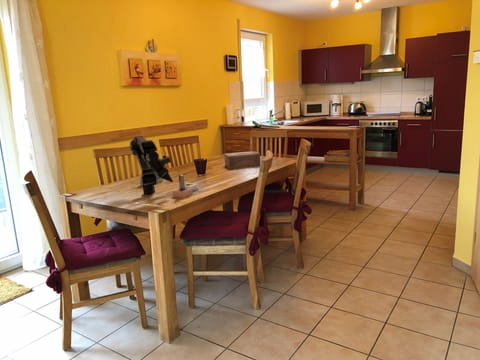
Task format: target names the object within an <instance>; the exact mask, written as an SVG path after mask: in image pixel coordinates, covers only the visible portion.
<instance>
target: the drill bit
mask: <svg viewBox="0 0 480 360" xmlns="http://www.w3.org/2000/svg"><path fill="white" fill-rule="evenodd" d="M178 183H179V185H178V187H179V186H180V191H184V190H185V184H186V183H185V175H184V174H179V175H178Z"/></svg>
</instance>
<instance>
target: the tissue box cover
mask: <svg viewBox="0 0 480 360" xmlns="http://www.w3.org/2000/svg"><path fill="white" fill-rule="evenodd" d="M224 166H225V167H226V166H227V167H226V168H228V169H229V168H230V169H236V168H237V169H239V167H240V168H248V167H250V168H251V167H258V166H261V153H260V152H257V151H253V150H252V151H242V152H231V153H224Z"/></svg>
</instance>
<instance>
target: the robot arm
mask: <svg viewBox="0 0 480 360" xmlns="http://www.w3.org/2000/svg"><path fill="white" fill-rule="evenodd" d="M129 151H130V152H131V153H132V155H134V156H135V157H136V159H137V161H138V165H139V168H140V170H141V176H140V179H139V184H140V186H141V187H142V190H143V194H142V196H151V195H154V194H155V193H156V191H155V190H156V188H155V185H157V183H156V180H157V177H156V175H155V174H154V172H153V169H154V170H155V171H156V172H157V175H158V176H159V177H160V178H162V179H163V180H165V181H167V182H170V183H173V182H174V180H173V179H172V177H171V175H170V174H169V169H168V168H167V164H170V163H172V159H171V158H170V156H169V155H162V158H160V156H159V153H158V147H157V146H156V144H155V141H154V140H151V139H149V140H147V139H146V138H144V136H142V135H139V136H134V137H133V139H132V140H131V141H130V143H129ZM159 159H161V160H159ZM147 163H148V164H149V165H150V166H151V167H152V168H153V169H149V167H148V164H147Z"/></svg>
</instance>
